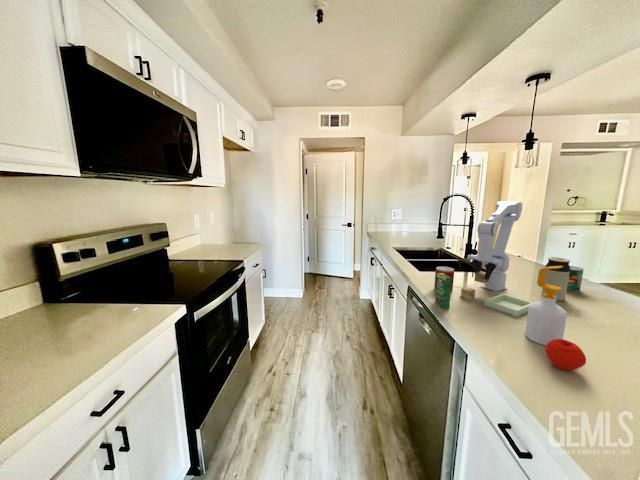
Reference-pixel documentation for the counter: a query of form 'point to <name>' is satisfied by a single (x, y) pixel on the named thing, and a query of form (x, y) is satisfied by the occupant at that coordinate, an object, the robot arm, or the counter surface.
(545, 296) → the soap bottle
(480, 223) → the robot arm
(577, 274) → the canned tomato
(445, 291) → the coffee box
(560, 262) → the travel mug
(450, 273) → the canned food
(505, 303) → the tray
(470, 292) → the block
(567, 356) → the apple
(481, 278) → the block
